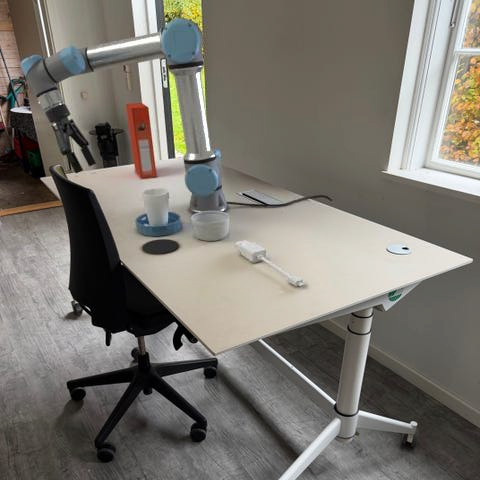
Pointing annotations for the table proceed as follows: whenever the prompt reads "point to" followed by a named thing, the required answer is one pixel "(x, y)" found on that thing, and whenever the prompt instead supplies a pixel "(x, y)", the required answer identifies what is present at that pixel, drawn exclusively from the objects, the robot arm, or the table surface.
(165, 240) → the mat
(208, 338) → the table surface
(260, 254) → the charging cable
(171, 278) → the table surface
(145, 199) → the foam cup
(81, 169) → the robot arm
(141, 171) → the file binder
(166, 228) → the bowl
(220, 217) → the ramekin
